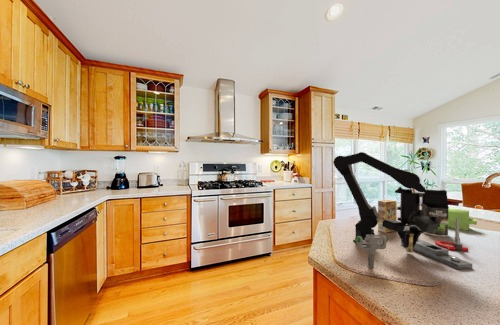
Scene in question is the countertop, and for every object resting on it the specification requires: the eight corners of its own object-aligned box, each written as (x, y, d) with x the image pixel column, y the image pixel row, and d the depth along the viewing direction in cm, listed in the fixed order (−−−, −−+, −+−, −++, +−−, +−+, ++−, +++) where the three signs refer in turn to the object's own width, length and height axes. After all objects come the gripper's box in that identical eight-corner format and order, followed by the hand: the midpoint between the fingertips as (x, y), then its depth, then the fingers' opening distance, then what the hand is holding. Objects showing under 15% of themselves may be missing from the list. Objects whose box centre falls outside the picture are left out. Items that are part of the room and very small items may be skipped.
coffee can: (453, 238, 95) (453, 207, 95) (425, 235, 99) (425, 205, 99) (442, 231, 104) (442, 204, 104) (417, 228, 108) (417, 202, 108)
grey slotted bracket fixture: (458, 269, 66) (458, 257, 66) (401, 244, 86) (401, 235, 86) (472, 268, 67) (472, 256, 67) (412, 243, 87) (412, 234, 87)
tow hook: (430, 242, 90) (447, 250, 81) (429, 213, 91) (446, 217, 82) (452, 244, 89) (471, 252, 80) (451, 214, 90) (470, 218, 80)
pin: (409, 253, 75) (409, 234, 76) (402, 249, 78) (402, 231, 78) (416, 252, 76) (416, 233, 76) (409, 249, 79) (409, 231, 79)
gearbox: (429, 225, 117) (429, 209, 117) (432, 221, 123) (432, 206, 123) (476, 233, 103) (476, 214, 103) (477, 228, 109) (476, 211, 109)
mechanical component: (353, 264, 68) (353, 234, 68) (382, 264, 69) (382, 234, 69) (358, 269, 65) (359, 238, 65) (389, 268, 66) (389, 237, 66)
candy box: (385, 233, 100) (386, 202, 100) (377, 230, 104) (377, 200, 104) (396, 231, 104) (397, 200, 104) (388, 228, 108) (388, 199, 108)
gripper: (408, 211, 68) (407, 258, 68) (454, 210, 71) (454, 255, 71) (381, 204, 79) (380, 245, 79) (422, 203, 82) (422, 242, 82)
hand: (409, 247), depth 77 cm, fingers closed on pin, 2 cm apart
